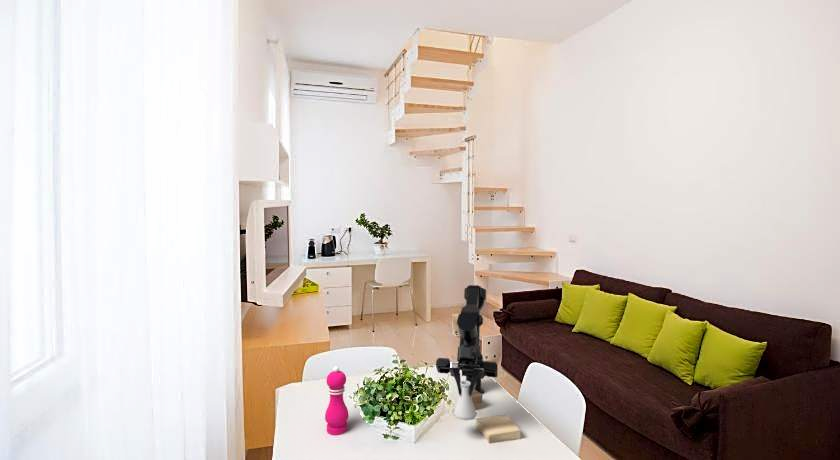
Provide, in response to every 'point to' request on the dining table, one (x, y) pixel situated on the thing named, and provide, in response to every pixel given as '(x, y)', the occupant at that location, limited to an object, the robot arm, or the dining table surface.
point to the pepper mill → (336, 403)
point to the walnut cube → (477, 399)
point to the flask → (465, 403)
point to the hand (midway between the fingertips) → (465, 395)
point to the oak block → (498, 428)
